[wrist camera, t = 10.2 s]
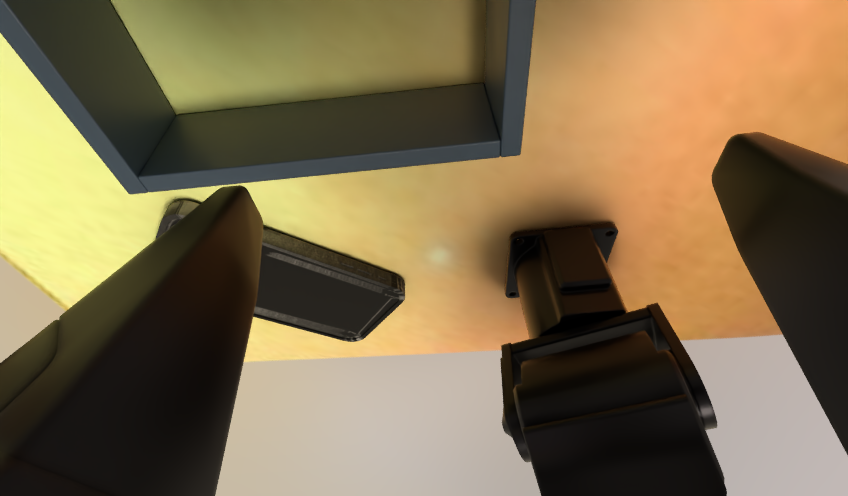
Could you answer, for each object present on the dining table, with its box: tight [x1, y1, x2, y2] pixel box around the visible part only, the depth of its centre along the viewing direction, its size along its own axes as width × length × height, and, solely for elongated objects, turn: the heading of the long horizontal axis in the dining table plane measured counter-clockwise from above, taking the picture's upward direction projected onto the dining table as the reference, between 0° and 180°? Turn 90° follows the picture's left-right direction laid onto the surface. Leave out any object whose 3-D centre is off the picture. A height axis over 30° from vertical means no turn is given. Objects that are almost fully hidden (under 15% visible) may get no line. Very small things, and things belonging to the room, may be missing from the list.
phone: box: [156, 200, 405, 342], centre depth 28 cm, size 8×1×15 cm
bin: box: [0, 0, 536, 194], centre depth 15 cm, size 10×16×4 cm, turn 95°
